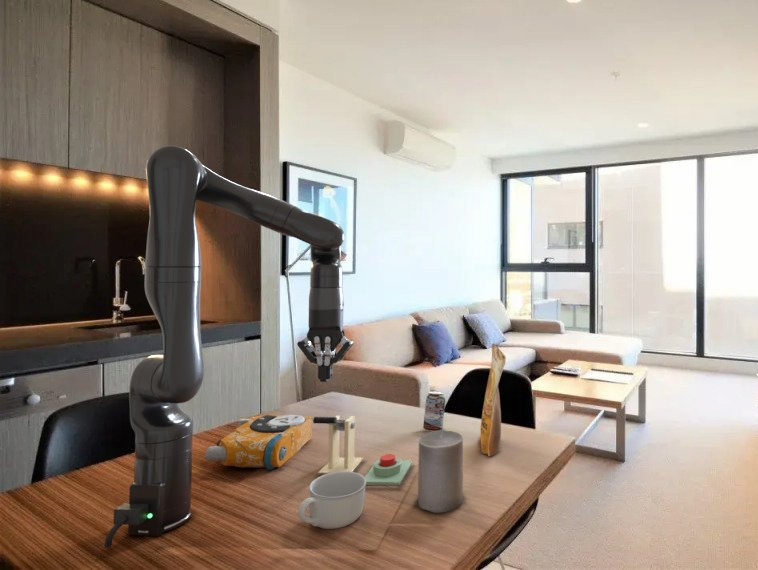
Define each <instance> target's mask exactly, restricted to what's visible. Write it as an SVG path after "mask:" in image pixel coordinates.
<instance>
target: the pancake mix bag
mask: <svg viewBox="0 0 758 570" xmlns="http://www.w3.org/2000/svg"><path fill="white" fill-rule="evenodd" d="M506 359H507V357H506V355H505V354H504V353H503V351H501V349H500V348H499V347H498V345H496V344H495V343H492V344H491V361H490V368H489V373H488V374H489V375H488V379H487V384H486V389H485V394H484V401H483V406H482V414H481V419H480V433H479V435H480V449H481V453H482V454H483V455H487V456H488V457H492V456H494V455H497V454H498V453H499V450H500V449H499V448H500V444H501V437H502V410H501V398H500V390H499V383H500V380H501V376H502V373H503V371H504V368H505V365H506V362H507V361H506Z"/></svg>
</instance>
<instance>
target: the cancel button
mask: <svg viewBox="0 0 758 570" xmlns="http://www.w3.org/2000/svg"><path fill="white" fill-rule="evenodd" d="M395 458H396V454H394V453H393V454H391V453H386V454H383V455H381V456H380V458H379V460H380V466H382V467H388V466H393V465H395Z"/></svg>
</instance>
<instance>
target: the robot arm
mask: <svg viewBox="0 0 758 570" xmlns="http://www.w3.org/2000/svg"><path fill="white" fill-rule="evenodd" d="M145 172H146V173H145V175H146V182H147V192H148V203H149V223H148V229H147V236H146V237H147V238H146V249H145V260H144V261H145V262H144V293H145V297H146V299H147V301H148V304H149V306H150V308H151V310H152V312H153V315H154V316H155V317H156V320H157V322H158V324H159V326H160V330H161V333H162V340H163V341H162V343H163V348H162V349H163V350H162V351H163V352H162V353H163V354H153V355H152V354H151V355H149V356H146V357H145V358H143V359H142V360H141V361H139V362H138V363H137V364H136V366H135V367H134V369H133V370H132V373H131V376H130V379H129V388H128V389H129V390H128V393H129V394H128V396H129V397H128V399H129V421H130V427H131V428H132V430H133V432H134V467H133V468H134V471H133V483H131V484H130V485H129V491H128V493H129V494H128V496H129V497H128V502H124V503H122V504H120V505H119V506H117V507H116V508H114V509H113V526H112V528H111V529H110V530H109V532H108V533H107V535H106V537H105V540H104V548H105V549H109V548H110V547H112V545H113V539H114V536H115V534H116V533H117V531H118V530H119V529H120V528H121V527H122V526H127V527H128V529H127V530H128V531H127V535H128V536H143V537H144V536H145V537H146V536H149V537H151V536H152V537H159V536H161V535H163V534H164V533H166V532H168V531H171V530H174V529H176V528H178V527H181V526H182V525H184V524H185V523H187V522H188V521H189V520H190V518H191V517H192V480H193V479H192V477H193V476H192V473H193V472H192V471H193V440H194V438H193V437H194V431H193V430H194V420H193V417H192V416H191V415H190V414H188V413H187V412H185V410H183V409H182V407H181V406H180V404H184V403H187V402H189V401H191V400H192V399H193V398H195V396H196V395H197V394H198V393H199V391H200V389H201V387H202V385H203V382H204V381H203V380H204V374H205V373H204V371H205V368H204V356H203V355H204V354H203V345H202V334H201V291H202V290H201V287H202V266H203V265H202V252H201V245H200V244H201V243H200V239H199V235H198V229H197V224H196V206H197V201H198V202H203V203H205V204H209V205H212V206H215V207H218V208H221V209H223V210H226V211H228V212H231V213H233V214H235V215H237V216H240V217H242V218H244V219H246V220H248V221H251V222H253V223H254V224H257V225H259V226H262V227H264V228H266V229H269V230H271V231H273V232H276V233H278V234H280V235H283V236H286V237H290V238H295V239H297V240H298V241H299V240H300V241H301V242H304V243H306V244H308V245H310V246H309V247H310V260H311V261H310V262H311V266H310V277H309V279H310V280H309V281H310V282H309V287H310V288H309V295H308V331H307V333H306V337H305V338H303V339H302V340H299V341H298V342H297V343H296V345H297V347H298V348H299V349H300V351H301V352H302V353H303V355H304V356H305V357H306V359H307V360H308V361H309V363H310V364H315V365H317V379H318V380H319V382H320V383H328V382H329V381H330V380H331V379H332V378H333V374H334V373H333V372H334V371H333V370H334V369H333V368H334V367H333V366H334V364H336V363H339V362H340V361H342V359H343V358H344V357H345V356H346V354H347V353H348V352H349V351H350V349H351V348H352V346H354V343H355V342H354V340H352V339H349V338H348V337H346V333H345V331H344V306H345V301H344V291H343V267H342V266H343V265H342V263H341V258H342V257H341V256H342V245H343V243H344V241H345V231H344V229H343V228H342V226H341V225H340V224H338V223H337V222H335V221H333V220H331V219H329V218H326V217H324V216H321V215H318V214H315V213H311V212H308V211H306V210H304V209H302V208H300V207H298V206H296V205H293V204H292V203H290V202H287V201H286V200H283V199H280V198H278V197H275V196H273V195H270V194H267V193H265V192H261V191H259V190H255V189H252V188H249V187H246V186H243V185H241V184H238V183H236V182H234V181H231V180H229V179H227V178H225V177H223V176H221V175H219V174H218V173H216V172H214V171H212V169H210V168H208V167H206V166H205V165H203V164H202V162H201V161H200V160H199V159H198V157H197V156H196V155H195V154H193V152H191V151H189V150H188V149H186V148H185V147H181V146H178V145H164V146H161V147H159V148H157V149H155V150H154V151H153V152H152V153H151V154H150V155H149V157H148V158H147V161H146V163H145ZM339 345H340V349H339V350H338V352H337V353H336V350H337V348H338V347H339Z"/></svg>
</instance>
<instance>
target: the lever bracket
mask: <svg viewBox="0 0 758 570" xmlns="http://www.w3.org/2000/svg"><path fill="white" fill-rule="evenodd" d="M334 417H337V420H341V416H340V415H335V416H334ZM345 420H346V421H345V431H344V443H343V454H344V455H343V456H340V435H341V434H340V433H341V431H337V430H335V427H336V426H333V425H330V424H328V451H327V452H328V457H327V459H328V460H327V461H328V462H327V463H326V464H325V465H324V466H323V467H322V468H321V469H319V471H318V472H317V473H318V474H329V473H333V472H341V471H349V472H354V471H355V469H356V468H357V467H358V466H359V464H360V463H361V462H362V461H363V460H364V457H357V456H356V455H355V454H356V453H355V452H356V415H350V416H349V417H348V418H347V419H345Z"/></svg>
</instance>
